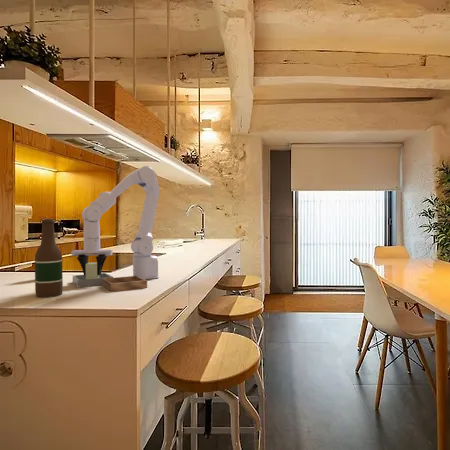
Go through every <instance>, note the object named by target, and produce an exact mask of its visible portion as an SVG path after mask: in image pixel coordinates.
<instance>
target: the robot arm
mask: <svg viewBox="0 0 450 450" xmlns="http://www.w3.org/2000/svg"><path fill="white" fill-rule="evenodd" d="M157 177H158V174H157V172H156V171H155V170H154V169H153V167H151V166H149V165H144V166H142V167H139V168H137V169H134V170H133V171H131V172H130V173H129V174H128V175H126V176H125V177H124V178H123V179H122V180H121V181H120V182H119V183H117V185H116V186H115V187H113V188H112V190H110V191H104V192H100V193H99V194H98V197H97V198H96V199H95V200H94V201H90V203H89V206H86V207H85V208H84V209H83V210H82V213H81V217H82V219H83V249H75V250H74V249H73V250H71V256H76V259H77V260H78V262H79V264H80V267H81V268H82V271H83V275H86V264H87V263H89V258H90V257H89V256H95V258H96V263H97V275H101V273H103V272H102V271H103V268H104V265H105V262H106V260H107V258H108V256H113V253H114V252H113V249H101V226H100V220H101V218H102V216H103V215H104V214H105V213H106V212H107V211H109V209H110V208H111V207H113V206H114V205H116V203H117V198H118V197H119V196H120V195H121V194H122V193H124V192H125V191H127V189H129V188H130V187H131V186H132V185H133V186H134V185H139V186H140V187H141V188H142V190H144V192H145V197H144V203H143V205H142V206H143V207H142V212H141V216H140V222H139V228H138V231H137V232H136V234H135V236H134V239H133V241H132V242H131V244H130V249H131V251H132V252H133V254H132V276H138V277H140V278H143V279H145V280H151V279H159V278H160V277H159V259H158V256H157V255H152V253H153V250H154V243H153V240H154V237H153V235H152V232H153V227H154V224H155V223H154V222H155V217H156V213H157V207H158V202H159V197H160V192H161V188H160V184H159V181H158V179H157Z"/></svg>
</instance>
